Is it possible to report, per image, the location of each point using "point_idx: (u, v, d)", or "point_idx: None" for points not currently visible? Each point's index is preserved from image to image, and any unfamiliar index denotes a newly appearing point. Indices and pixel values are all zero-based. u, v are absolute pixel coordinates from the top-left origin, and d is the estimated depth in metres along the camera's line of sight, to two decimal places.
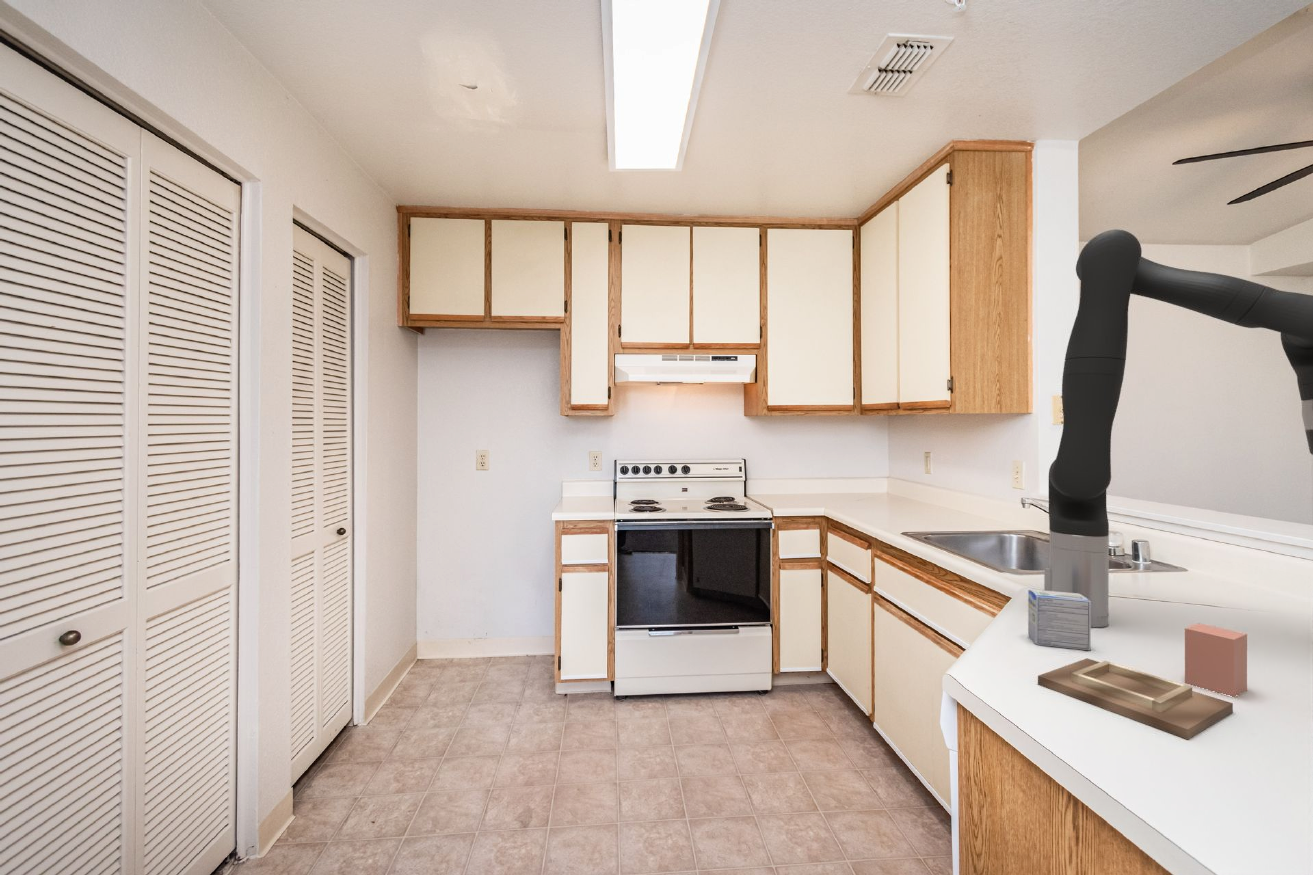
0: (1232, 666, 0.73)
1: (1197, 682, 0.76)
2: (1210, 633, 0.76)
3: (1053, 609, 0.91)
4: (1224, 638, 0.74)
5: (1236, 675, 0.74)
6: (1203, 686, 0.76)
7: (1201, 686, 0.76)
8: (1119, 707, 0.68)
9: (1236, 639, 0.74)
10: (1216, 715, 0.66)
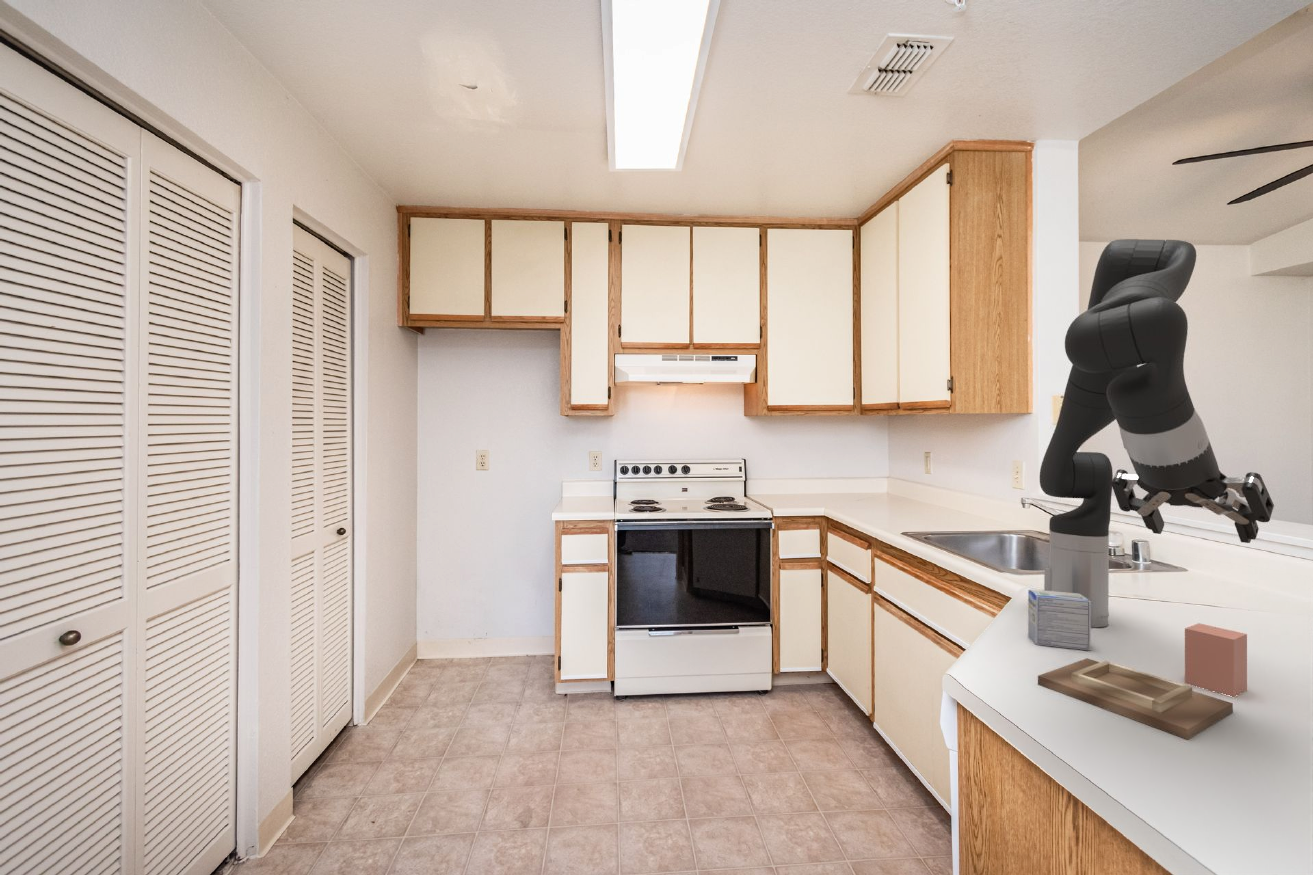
0: (1232, 666, 0.73)
1: (1197, 682, 0.76)
2: (1210, 633, 0.76)
3: (1053, 609, 0.91)
4: (1224, 638, 0.74)
5: (1236, 675, 0.74)
6: (1203, 686, 0.76)
7: (1201, 686, 0.76)
8: (1119, 707, 0.68)
9: (1236, 639, 0.74)
10: (1216, 715, 0.66)
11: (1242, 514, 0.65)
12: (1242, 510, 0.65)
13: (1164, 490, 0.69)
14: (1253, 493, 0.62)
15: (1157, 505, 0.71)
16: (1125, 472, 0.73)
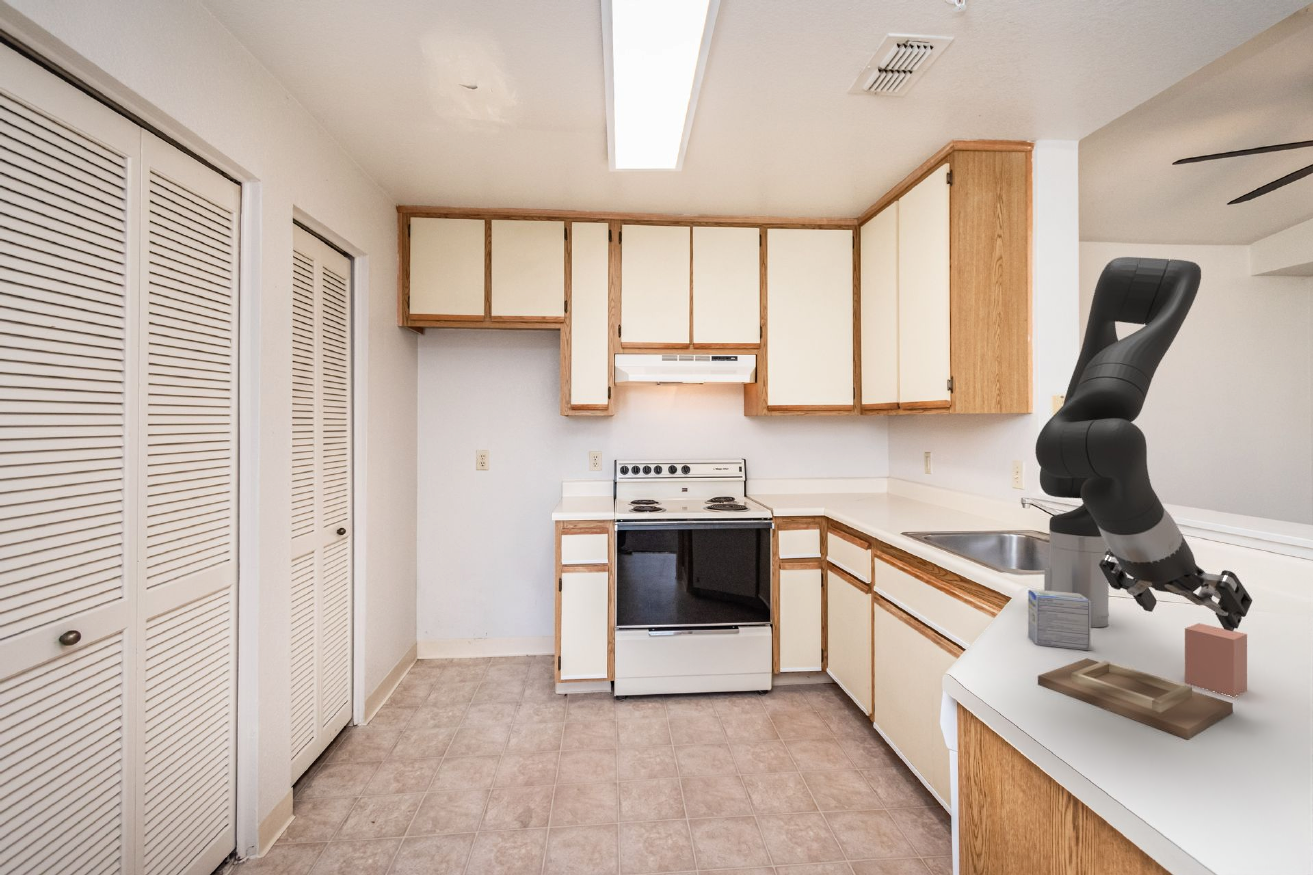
0: (1232, 666, 0.73)
1: (1197, 682, 0.76)
2: (1210, 633, 0.76)
3: (1053, 609, 0.91)
4: (1224, 638, 0.74)
5: (1236, 675, 0.74)
6: (1203, 686, 0.76)
7: (1201, 686, 0.76)
8: (1119, 707, 0.68)
9: (1236, 639, 0.74)
10: (1216, 715, 0.66)
11: (1221, 606, 0.68)
12: (1222, 602, 0.68)
13: None
14: (1226, 591, 0.65)
15: (1142, 589, 0.74)
16: (1113, 554, 0.77)
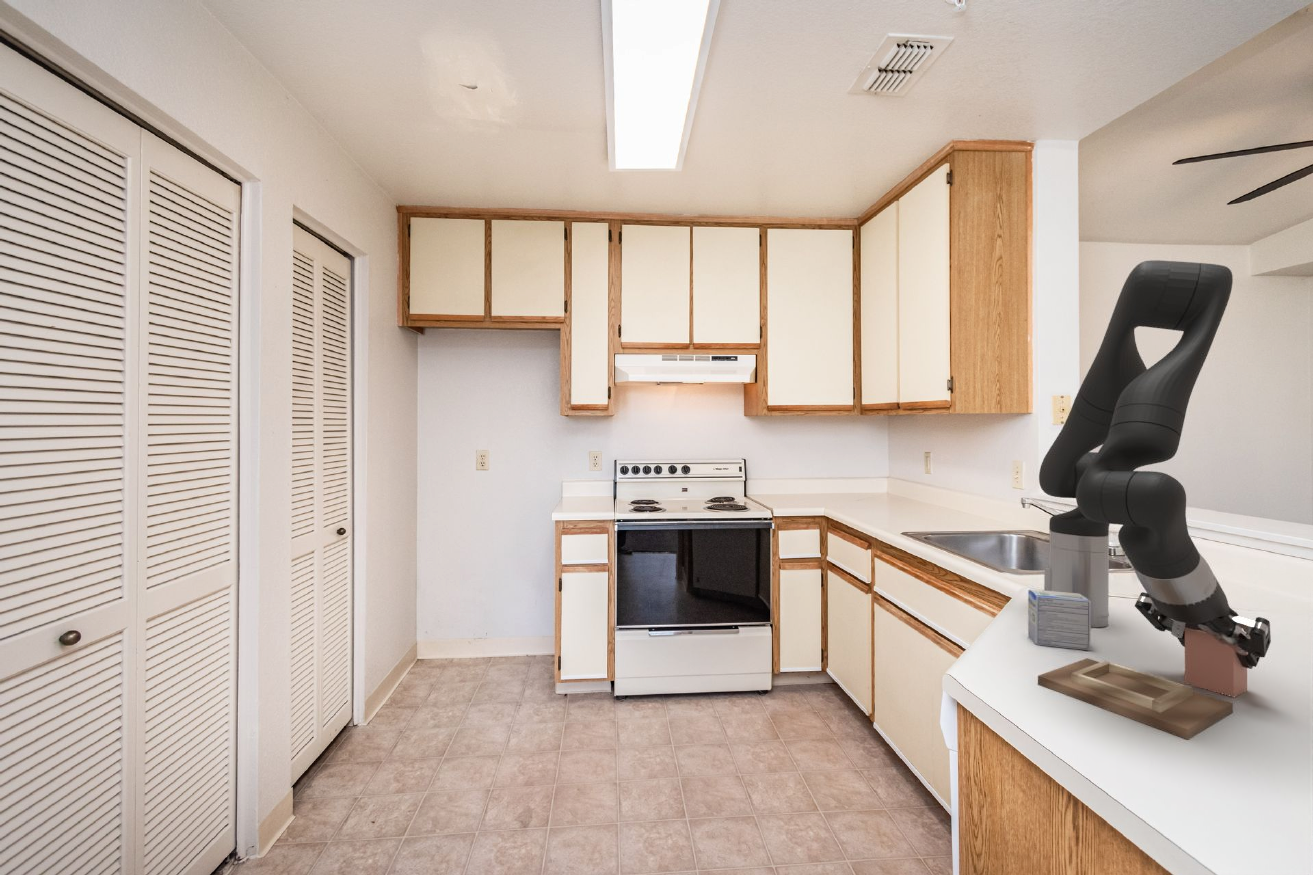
0: (1232, 666, 0.73)
1: (1197, 681, 0.76)
2: None
3: (1053, 609, 0.91)
4: None
5: (1236, 675, 0.74)
6: (1203, 686, 0.76)
7: (1201, 686, 0.76)
8: (1119, 707, 0.68)
9: None
10: (1216, 715, 0.66)
11: (1243, 647, 0.72)
12: (1242, 642, 0.73)
13: None
14: (1259, 638, 0.69)
15: (1181, 629, 0.77)
16: (1147, 595, 0.80)
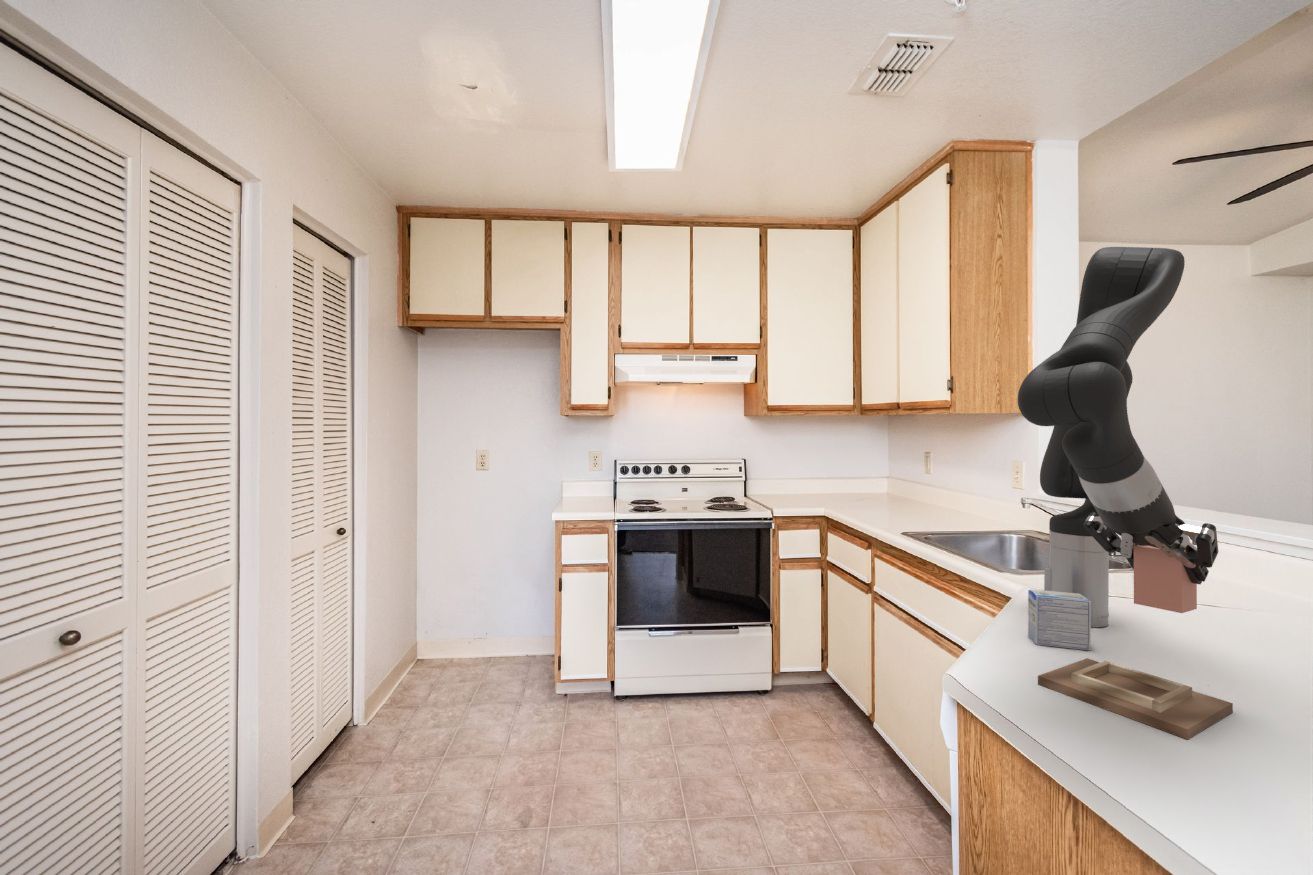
0: (1180, 580, 0.70)
1: (1146, 600, 0.73)
2: (1158, 548, 0.73)
3: (1053, 609, 0.91)
4: None
5: (1184, 590, 0.70)
6: (1152, 604, 0.73)
7: (1150, 604, 0.73)
8: (1119, 707, 0.68)
9: (1184, 552, 0.71)
10: (1216, 715, 0.66)
11: (1191, 559, 0.69)
12: (1189, 554, 0.70)
13: None
14: (1205, 544, 0.66)
15: (1129, 546, 0.73)
16: (1096, 514, 0.77)
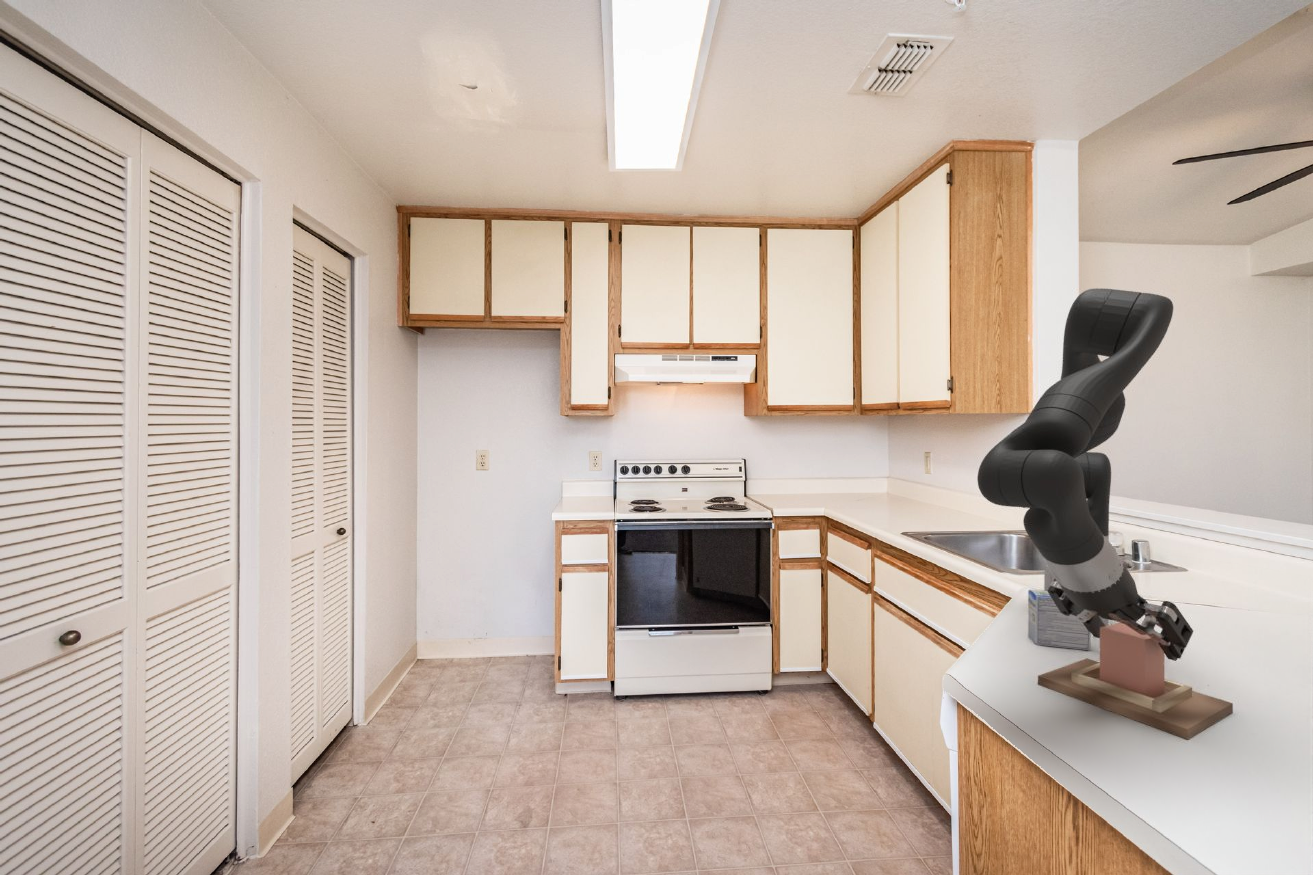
0: (1143, 667, 0.69)
1: None
2: (1124, 632, 0.72)
3: (1053, 609, 0.91)
4: (1135, 637, 0.70)
5: (1148, 677, 0.70)
6: None
7: None
8: (1119, 707, 0.68)
9: (1148, 639, 0.70)
10: (1216, 715, 0.66)
11: (1163, 637, 0.67)
12: (1164, 632, 0.68)
13: None
14: (1166, 623, 0.64)
15: (1089, 617, 0.73)
16: None
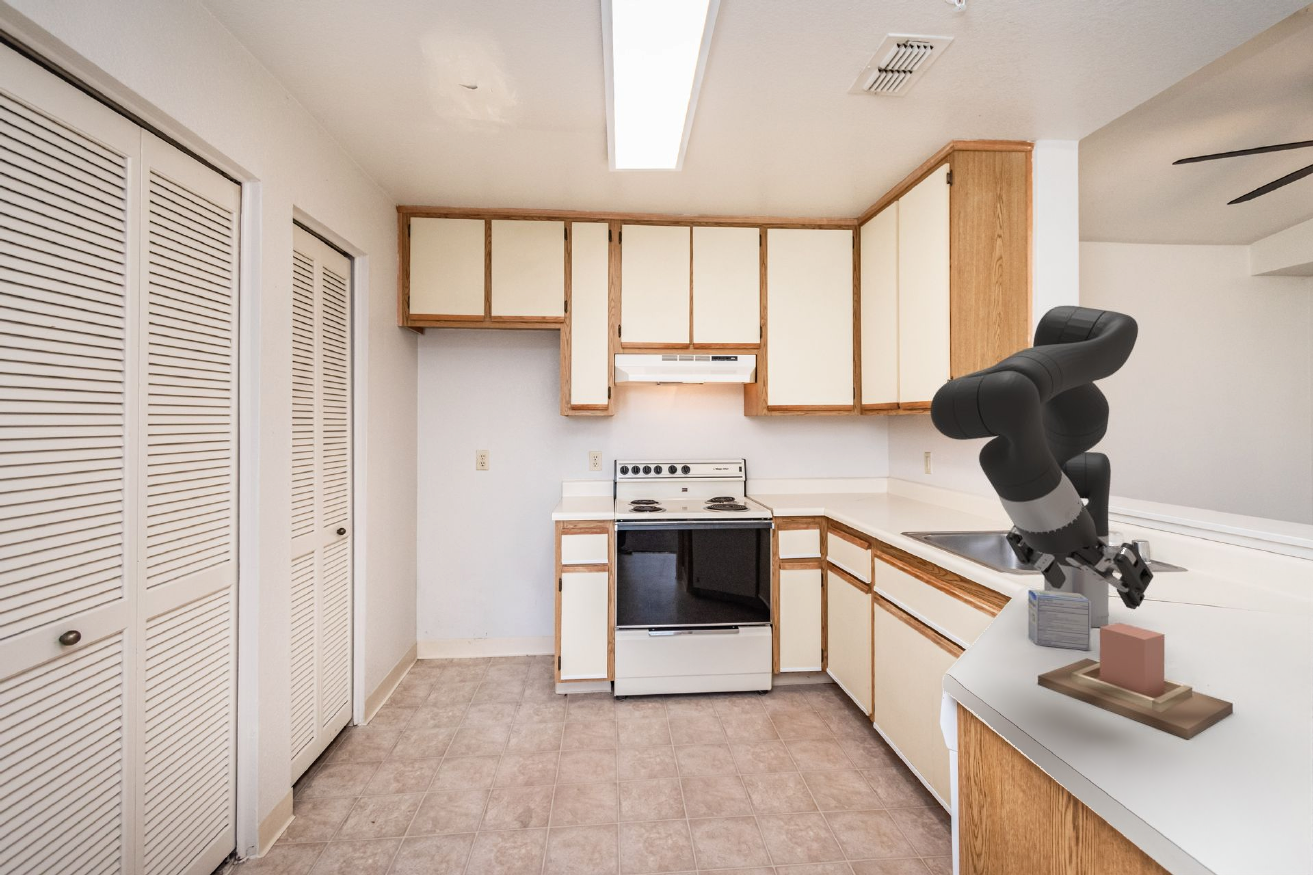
0: (1143, 667, 0.69)
1: None
2: (1124, 632, 0.72)
3: (1053, 609, 0.91)
4: (1135, 637, 0.70)
5: (1148, 677, 0.70)
6: None
7: None
8: (1119, 707, 0.68)
9: (1148, 639, 0.70)
10: (1216, 715, 0.66)
11: (1121, 582, 0.63)
12: (1123, 577, 0.64)
13: None
14: (1123, 565, 0.60)
15: (1046, 563, 0.69)
16: None
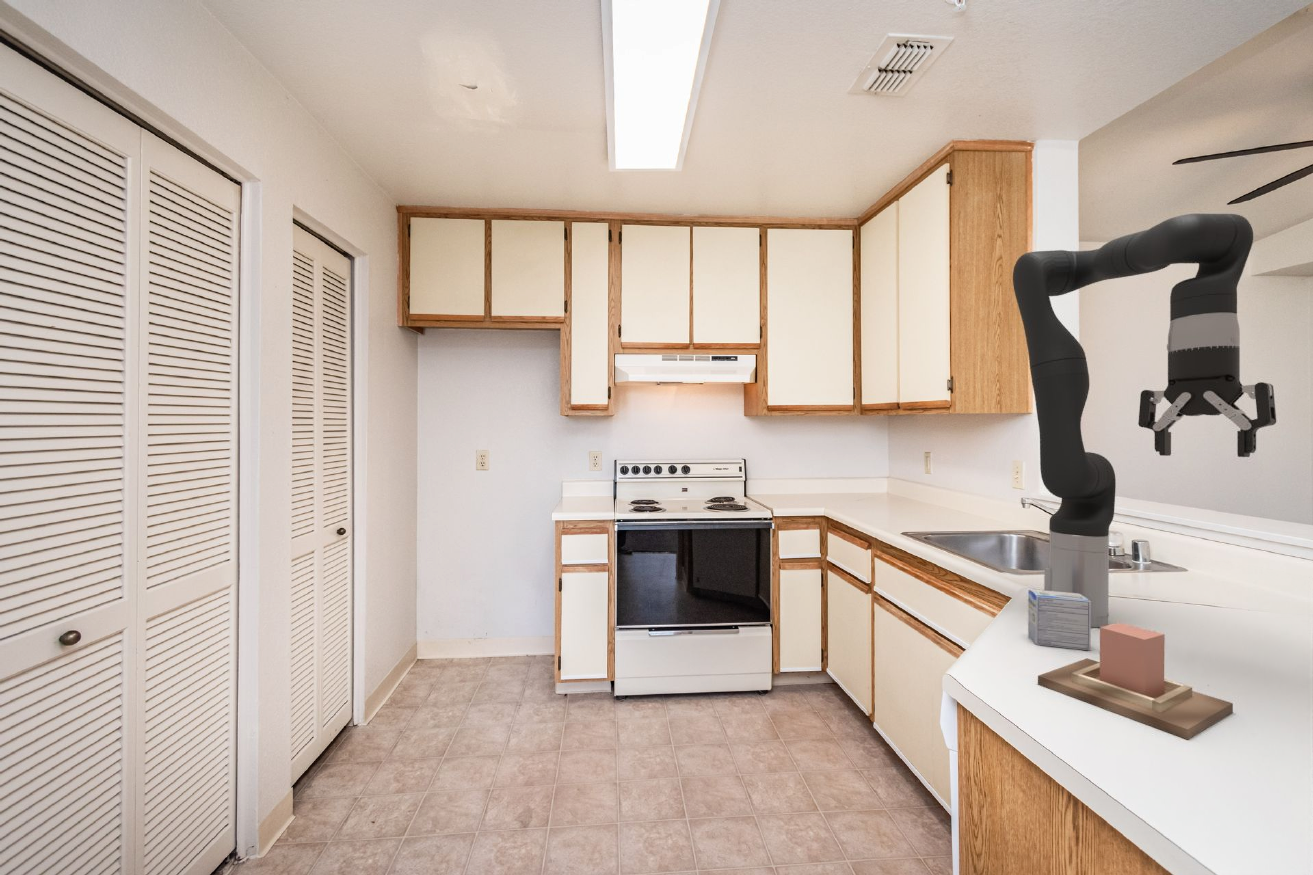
0: (1143, 667, 0.69)
1: None
2: (1124, 632, 0.72)
3: (1053, 609, 0.91)
4: (1135, 637, 0.70)
5: (1148, 677, 0.70)
6: None
7: None
8: (1119, 707, 0.68)
9: (1148, 639, 0.70)
10: (1216, 715, 0.66)
11: (1247, 420, 0.75)
12: None
13: (1186, 392, 0.80)
14: (1263, 389, 0.73)
15: (1174, 411, 0.81)
16: None
